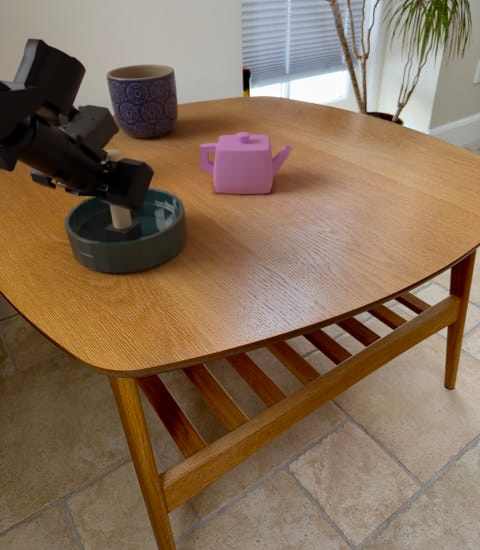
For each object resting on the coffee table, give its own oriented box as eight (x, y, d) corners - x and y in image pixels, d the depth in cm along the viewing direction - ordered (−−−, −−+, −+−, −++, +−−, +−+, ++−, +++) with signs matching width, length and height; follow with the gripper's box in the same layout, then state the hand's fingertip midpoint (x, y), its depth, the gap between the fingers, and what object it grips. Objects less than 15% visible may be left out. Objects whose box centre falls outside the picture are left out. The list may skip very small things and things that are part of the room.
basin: (139, 289, 61) (132, 257, 58) (49, 256, 68) (38, 226, 65) (208, 229, 74) (205, 200, 70) (125, 207, 81) (120, 179, 78)
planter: (104, 136, 113) (91, 74, 104) (146, 119, 124) (138, 62, 115) (152, 147, 106) (143, 82, 97) (193, 127, 117) (187, 67, 108)
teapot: (289, 173, 91) (292, 124, 85) (291, 195, 83) (294, 143, 77) (205, 173, 92) (201, 124, 86) (198, 195, 84) (193, 143, 78)
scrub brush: (128, 247, 67) (113, 158, 59) (107, 242, 68) (89, 154, 61) (142, 235, 70) (130, 149, 62) (122, 231, 71) (107, 146, 64)
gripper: (131, 98, 49) (193, 158, 64) (21, 82, 57) (99, 139, 71) (97, 188, 49) (168, 228, 63) (-10, 161, 56) (75, 202, 70)
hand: (126, 196), depth 67 cm, fingers closed on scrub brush, 3 cm apart
